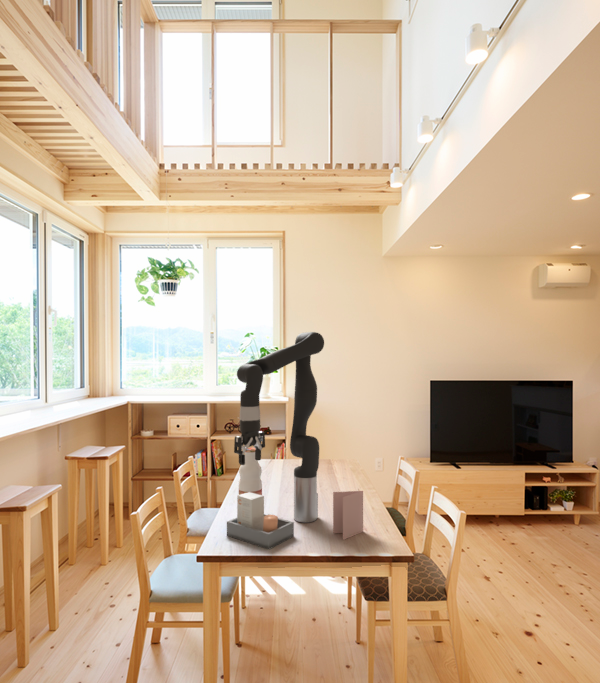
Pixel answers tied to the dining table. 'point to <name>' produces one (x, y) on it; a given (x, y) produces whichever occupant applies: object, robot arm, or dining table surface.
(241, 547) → the dining table surface
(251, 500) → the small box
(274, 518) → the peach rounded piece
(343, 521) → the greeting card
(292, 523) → the tote
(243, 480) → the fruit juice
